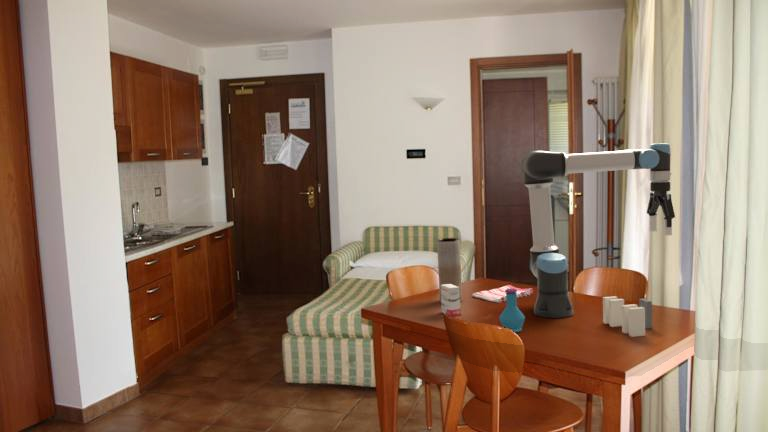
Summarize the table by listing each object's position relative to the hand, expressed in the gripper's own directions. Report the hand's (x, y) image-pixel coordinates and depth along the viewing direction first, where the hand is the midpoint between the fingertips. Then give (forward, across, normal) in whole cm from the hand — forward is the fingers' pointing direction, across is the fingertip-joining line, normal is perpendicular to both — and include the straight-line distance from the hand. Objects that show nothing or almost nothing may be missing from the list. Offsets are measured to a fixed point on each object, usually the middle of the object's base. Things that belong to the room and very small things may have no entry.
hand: (660, 233), depth 266 cm
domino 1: (+29, -32, +30) cm, 52 cm away
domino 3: (+29, -35, +21) cm, 50 cm away
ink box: (+30, 0, +87) cm, 92 cm away
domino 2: (+29, -41, +29) cm, 58 cm away
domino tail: (+29, -45, +29) cm, 61 cm away
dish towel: (+30, +27, +60) cm, 72 cm away
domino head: (+29, -27, +31) cm, 50 cm away
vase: (+30, +22, +84) cm, 92 cm away
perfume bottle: (+29, -28, +68) cm, 79 cm away
